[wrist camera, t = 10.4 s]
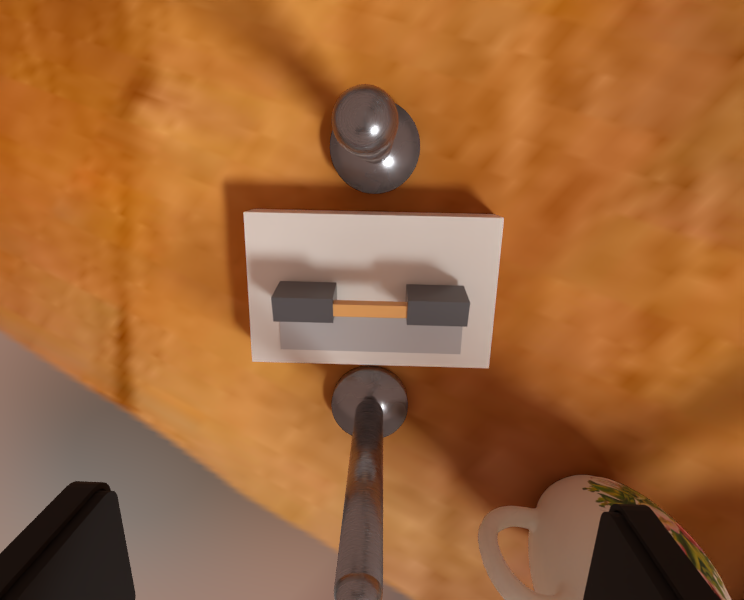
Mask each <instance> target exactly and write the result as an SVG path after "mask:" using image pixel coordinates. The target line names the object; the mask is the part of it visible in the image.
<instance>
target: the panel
mask: <svg viewBox="0 0 744 600" xmlns="http://www.w3.org/2000/svg"><path fill="white" fill-rule="evenodd" d="M243 214H244V230H245V247H246V264H247V281H248V298H249V315H250V332H251V348H252V361H253V362H288V363H323V364H357V365H392V366H427V367H462V368H489V361H490V352H491V342H492V332H493V322H494V312H495V302H496V292H497V282H498V272H499V262H500V252H501V243H502V233H503V223H504V218H503V217H500V216H498V215H495V214H466V213H422V212H377V211H332V210H287V209H252V210H249V211H245V212H243ZM280 281H300V282H337V300H355V301H393V302H405V301H406V284H419V285H458V286H464V288H465V290H466V293H467V295H468V298H469V301H470V309H469V317H468V325H467V327H460V326H423V325H407V322H406V318H374V317H337V316H335V317H334V322H333V323H312V322H275V321H273V312H272V302H271V297H272V295H273V293H274V291H275V289H276V287H277V285H278V284H279V282H280Z"/></svg>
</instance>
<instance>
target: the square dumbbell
mask: <svg viewBox="0 0 744 600" xmlns="http://www.w3.org/2000/svg"><path fill="white" fill-rule="evenodd" d="M271 302H272V312H273V321H275V322H312V323H333V322H334V317H335V316H337V317H374V318H406V322H407V325H423V326H460V327H467V325H468V317H469V309H470V301H469V298H468V295H467V293H466V290H465V288H464V286H458V285H419V284H406V301H405V302H393V301H355V300H337V282H300V281H280V282H279V284H278V285H277V287H276V289H275V291H274V293H273V295H272V297H271Z"/></svg>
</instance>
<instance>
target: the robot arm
mask: <svg viewBox="0 0 744 600" xmlns="http://www.w3.org/2000/svg"><path fill="white" fill-rule="evenodd" d="M0 600H135V590H134V585H133V578H132V573H131V567H130V562H129V557H128V552H127V546H126V540H125V535H124V529H123V524H122V519H121V513H120V508H119V502H118V497H117V494H116V493H115V492H114V491H111V490H110V487H109V485H108V484H107V483H103V482H80V481H76V482H73V483H71V484H69V485H68V486H67V487H66V488H65V489H64V490H63V491H62V492H61V493H60V494H59V495H58V496H57V497H56V498H55V499H54V500H53V501H52V502H51V503H50V504H49V505H48V506H47V507H46V508H45V509H44V510H43V511H42V512H41V513H40V514H39V515H38V516H37V517H36V518H35V519H34V520H33V521H32V522H31V523H30V524H29V525H28V526H27V527H26V528H25V529H24V530H23V531H22V532H21V533H20V534H19V535H18V536H17V537H16V538H15V539H14V540H13V541H12V542H11V543H10V544H9V545H8V546H7V547H6V549H4V551H2V552H1V554H0ZM583 600H721V599H720V597H719V596H718V595H717V594H716V593H715V592H714V591H713V590H712V588H711V587H710V586H709V584H708V583H707V582H706V580H705V579H704V578H703V576H702V575H701V574H700V573H699V571H698V570H697V569H696V567H695V566H694V565H693V563H692V562H691V561H690V559H689V558H688V557H687V555H686V554H685V553H684V551H683V550H682V549H681V547H680V546H679V545H678V543H677V542H676V541H675V539H674V538H673V537H672V535H671V534H670V533H669V531H668V530H667V529H666V527H665V526H664V525H663V523H662V522H661V521H660V520H659V518H658V517H657V516H656V514H655V513H654V512H653V510H652V509H651V508H650V507H648V506H646V505H637V504H613V505H612V506H611V507H610V509H609V512H603V513H602V514H601V517H600V522H599V527H598V531H597V536H596V541H595V545H594V550H593V555H592V559H591V564H590V569H589V573H588V578H587V583H586V587H585V592H584V597H583Z"/></svg>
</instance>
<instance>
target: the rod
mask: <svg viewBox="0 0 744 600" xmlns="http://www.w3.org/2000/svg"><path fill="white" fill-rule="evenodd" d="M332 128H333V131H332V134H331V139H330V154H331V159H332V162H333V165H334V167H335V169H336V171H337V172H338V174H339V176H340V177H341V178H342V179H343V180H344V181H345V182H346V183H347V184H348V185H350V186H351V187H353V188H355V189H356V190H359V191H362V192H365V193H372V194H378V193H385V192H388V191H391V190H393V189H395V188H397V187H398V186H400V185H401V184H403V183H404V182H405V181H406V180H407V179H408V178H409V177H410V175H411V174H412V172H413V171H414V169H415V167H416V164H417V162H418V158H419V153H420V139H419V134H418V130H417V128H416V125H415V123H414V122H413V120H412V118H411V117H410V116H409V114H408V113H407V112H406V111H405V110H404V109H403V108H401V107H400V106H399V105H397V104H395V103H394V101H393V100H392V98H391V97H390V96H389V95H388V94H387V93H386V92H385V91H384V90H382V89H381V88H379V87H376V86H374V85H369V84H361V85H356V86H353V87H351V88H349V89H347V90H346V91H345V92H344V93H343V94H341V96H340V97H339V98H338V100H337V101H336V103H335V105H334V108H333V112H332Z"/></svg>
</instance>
